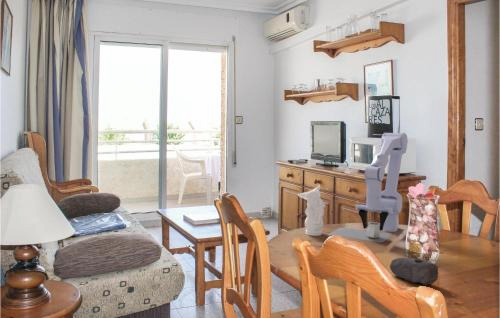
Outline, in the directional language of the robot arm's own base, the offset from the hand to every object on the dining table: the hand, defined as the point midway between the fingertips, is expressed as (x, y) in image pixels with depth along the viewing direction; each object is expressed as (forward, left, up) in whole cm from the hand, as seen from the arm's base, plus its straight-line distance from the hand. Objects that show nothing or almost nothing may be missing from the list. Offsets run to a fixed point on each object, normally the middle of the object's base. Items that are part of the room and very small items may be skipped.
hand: (373, 229), depth 177 cm
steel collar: (0, 0, -3) cm, 3 cm away
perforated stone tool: (+40, +23, -5) cm, 46 cm away
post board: (-2, -6, -5) cm, 8 cm away
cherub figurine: (+6, -25, -5) cm, 26 cm away
